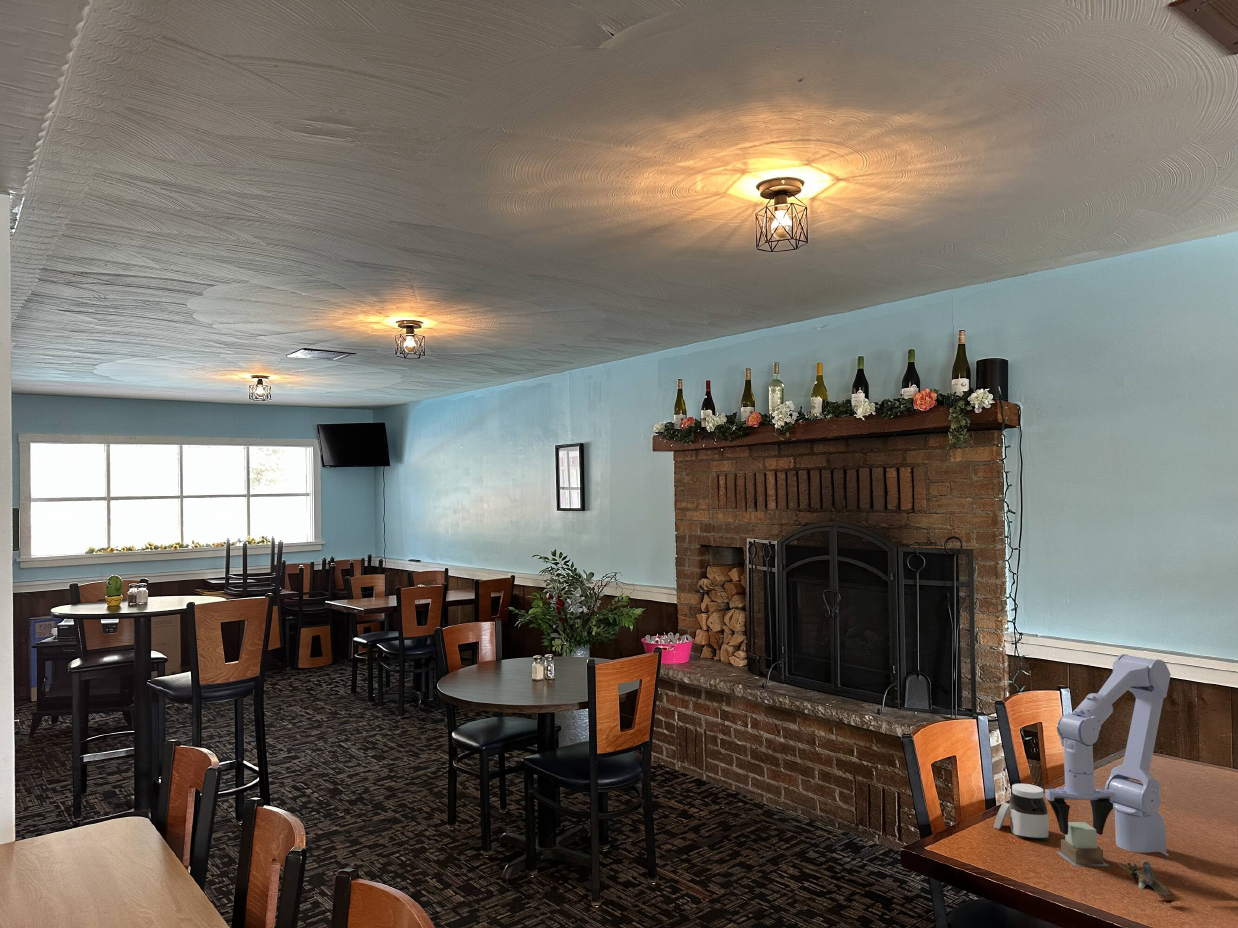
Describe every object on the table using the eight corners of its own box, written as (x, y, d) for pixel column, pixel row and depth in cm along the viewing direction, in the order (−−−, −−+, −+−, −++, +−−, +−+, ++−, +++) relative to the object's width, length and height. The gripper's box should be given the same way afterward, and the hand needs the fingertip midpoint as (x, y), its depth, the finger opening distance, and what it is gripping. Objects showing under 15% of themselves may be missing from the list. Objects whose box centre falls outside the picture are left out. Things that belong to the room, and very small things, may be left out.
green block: (1096, 848, 181) (1096, 829, 181) (1076, 848, 181) (1075, 829, 181) (1085, 840, 185) (1084, 821, 185) (1065, 840, 185) (1064, 821, 185)
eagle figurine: (1111, 880, 171) (1147, 890, 162) (1121, 847, 173) (1157, 855, 165) (1140, 899, 171) (1178, 910, 163) (1150, 866, 174) (1187, 875, 165)
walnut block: (1087, 853, 185) (1087, 839, 186) (1103, 863, 179) (1103, 849, 180) (1061, 852, 185) (1060, 839, 186) (1076, 863, 179) (1075, 849, 180)
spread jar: (1053, 847, 191) (1051, 795, 192) (1001, 843, 194) (999, 792, 194) (1037, 828, 203) (1036, 780, 204) (988, 824, 205) (987, 777, 206)
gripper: (1100, 765, 188) (1103, 826, 187) (1037, 764, 188) (1039, 826, 187) (1119, 774, 181) (1122, 838, 180) (1053, 774, 181) (1055, 837, 180)
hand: (1081, 832), depth 183 cm, fingers open, 7 cm apart
